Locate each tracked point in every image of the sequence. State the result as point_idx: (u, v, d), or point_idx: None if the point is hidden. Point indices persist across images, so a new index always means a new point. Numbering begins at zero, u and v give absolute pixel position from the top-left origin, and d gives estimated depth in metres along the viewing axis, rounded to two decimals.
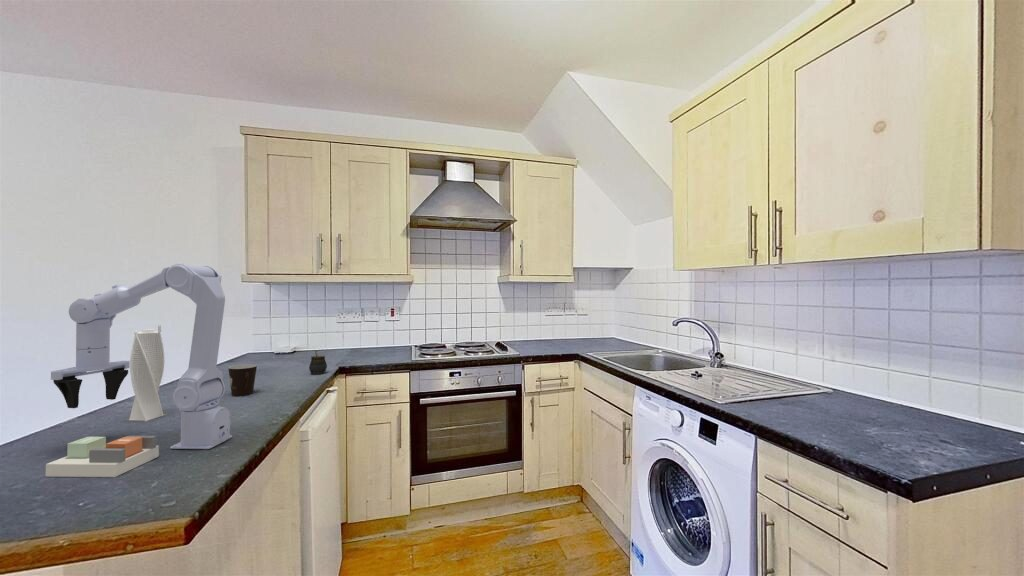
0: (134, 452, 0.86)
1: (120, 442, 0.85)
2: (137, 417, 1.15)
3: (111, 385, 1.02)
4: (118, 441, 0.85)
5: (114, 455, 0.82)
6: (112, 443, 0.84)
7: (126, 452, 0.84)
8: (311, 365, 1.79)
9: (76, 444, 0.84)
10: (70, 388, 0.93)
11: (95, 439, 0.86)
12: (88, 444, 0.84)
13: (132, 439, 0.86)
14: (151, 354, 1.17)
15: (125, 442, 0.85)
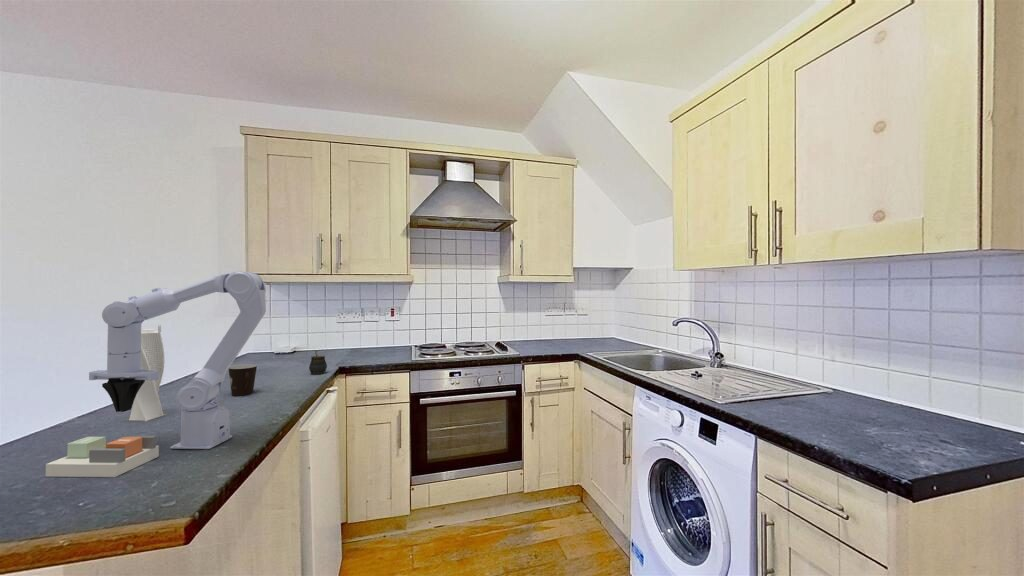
0: (134, 452, 0.86)
1: (120, 442, 0.85)
2: (137, 417, 1.15)
3: None
4: (118, 441, 0.85)
5: (114, 455, 0.82)
6: (112, 443, 0.84)
7: (126, 452, 0.84)
8: (311, 365, 1.79)
9: (76, 444, 0.84)
10: None
11: (95, 439, 0.86)
12: (88, 444, 0.84)
13: (132, 439, 0.86)
14: (151, 354, 1.17)
15: (125, 442, 0.85)
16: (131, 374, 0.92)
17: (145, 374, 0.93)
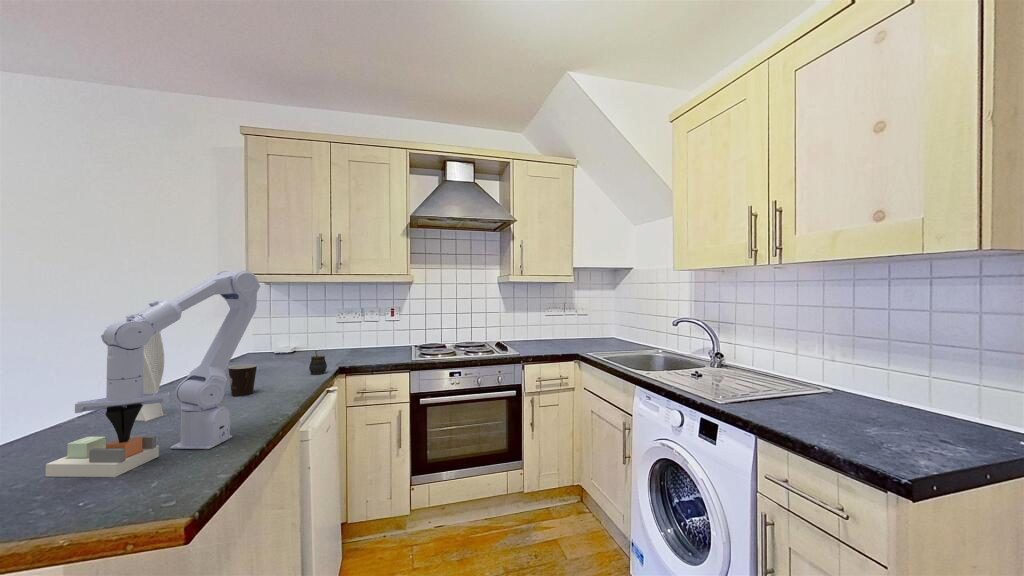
0: (134, 452, 0.86)
1: None
2: (137, 417, 1.15)
3: None
4: (118, 442, 0.85)
5: (114, 455, 0.82)
6: (112, 443, 0.84)
7: (126, 452, 0.84)
8: (311, 365, 1.79)
9: (76, 444, 0.84)
10: (110, 421, 0.83)
11: (95, 439, 0.86)
12: (88, 444, 0.84)
13: (132, 439, 0.86)
14: (151, 354, 1.17)
15: (125, 442, 0.85)
16: (145, 398, 0.86)
17: (161, 396, 0.88)
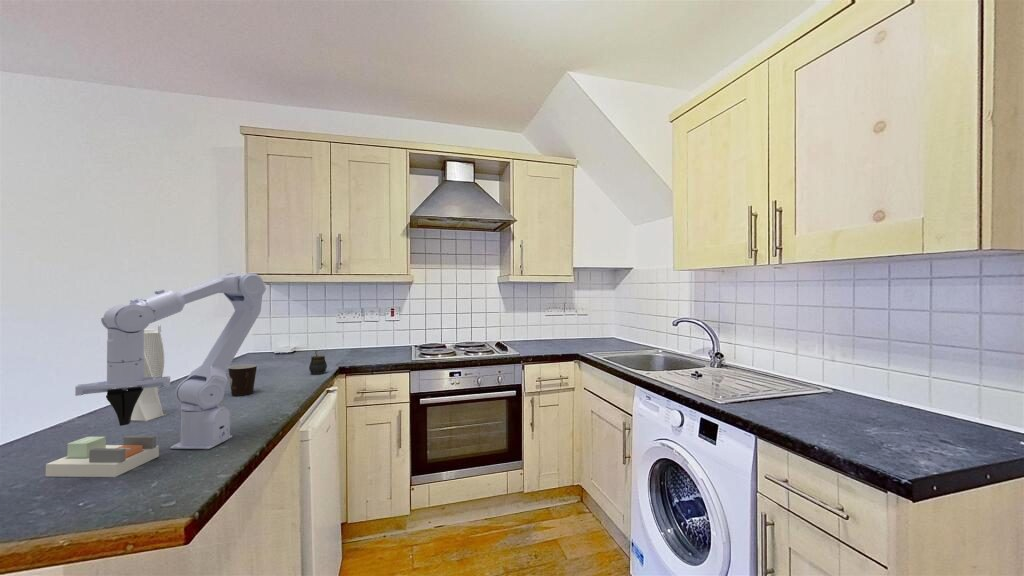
0: None
1: None
2: (137, 417, 1.15)
3: None
4: None
5: (114, 455, 0.82)
6: None
7: None
8: (311, 365, 1.79)
9: (76, 444, 0.84)
10: (111, 403, 0.83)
11: (95, 439, 0.86)
12: (88, 444, 0.84)
13: (132, 447, 0.86)
14: (151, 354, 1.17)
15: (125, 450, 0.85)
16: (146, 381, 0.86)
17: (161, 380, 0.89)
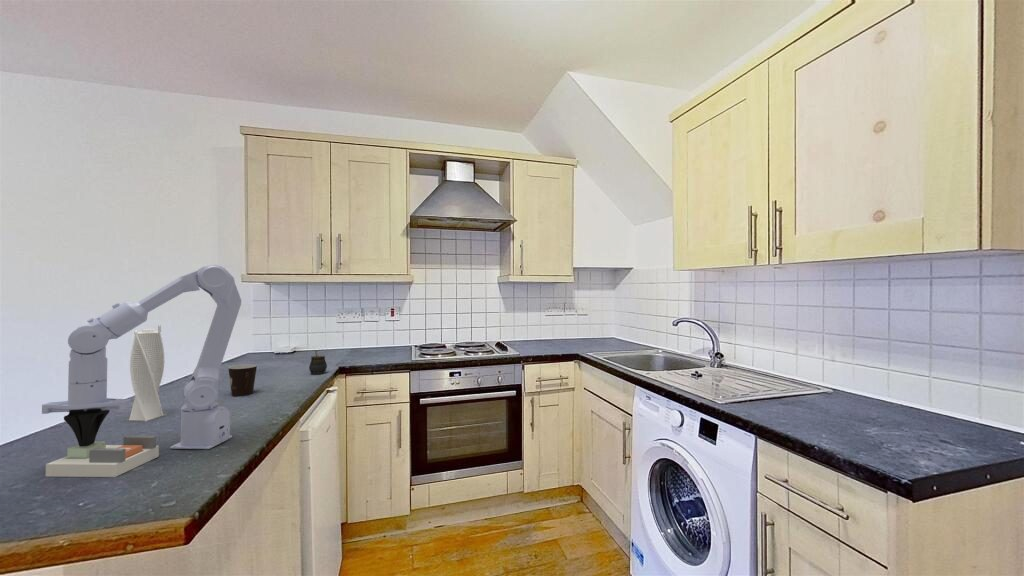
0: None
1: None
2: (137, 417, 1.15)
3: None
4: None
5: (114, 455, 0.82)
6: None
7: None
8: (311, 365, 1.79)
9: (76, 449, 0.84)
10: None
11: (95, 444, 0.86)
12: (88, 449, 0.84)
13: (132, 447, 0.86)
14: (151, 354, 1.17)
15: (125, 450, 0.85)
16: (100, 404, 0.85)
17: (117, 403, 0.86)
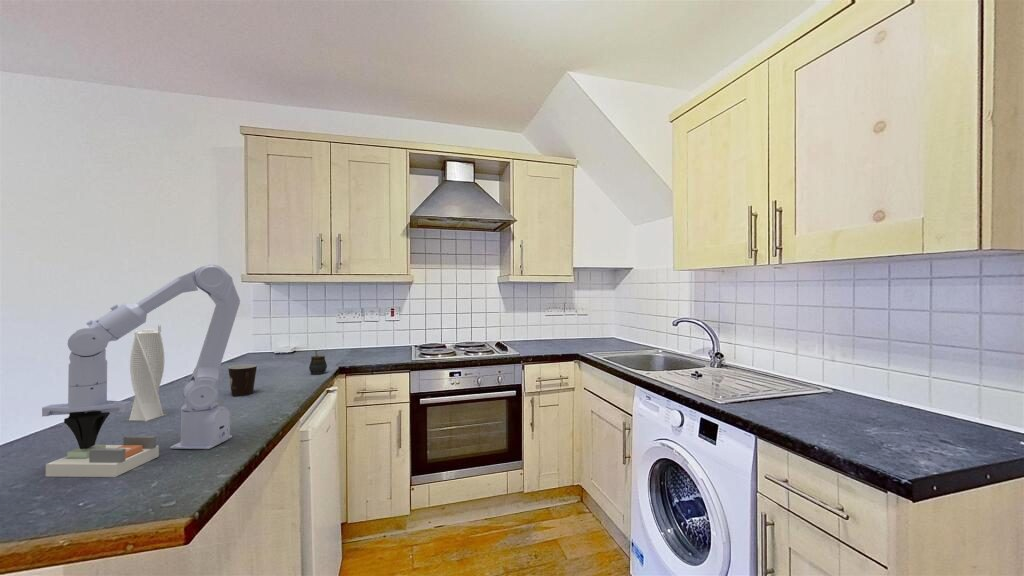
0: None
1: None
2: (137, 417, 1.15)
3: None
4: None
5: (114, 455, 0.82)
6: None
7: None
8: (311, 365, 1.79)
9: (76, 452, 0.84)
10: None
11: (95, 447, 0.86)
12: (88, 452, 0.84)
13: (132, 447, 0.86)
14: (152, 354, 1.17)
15: (125, 450, 0.85)
16: (100, 407, 0.85)
17: (117, 405, 0.86)
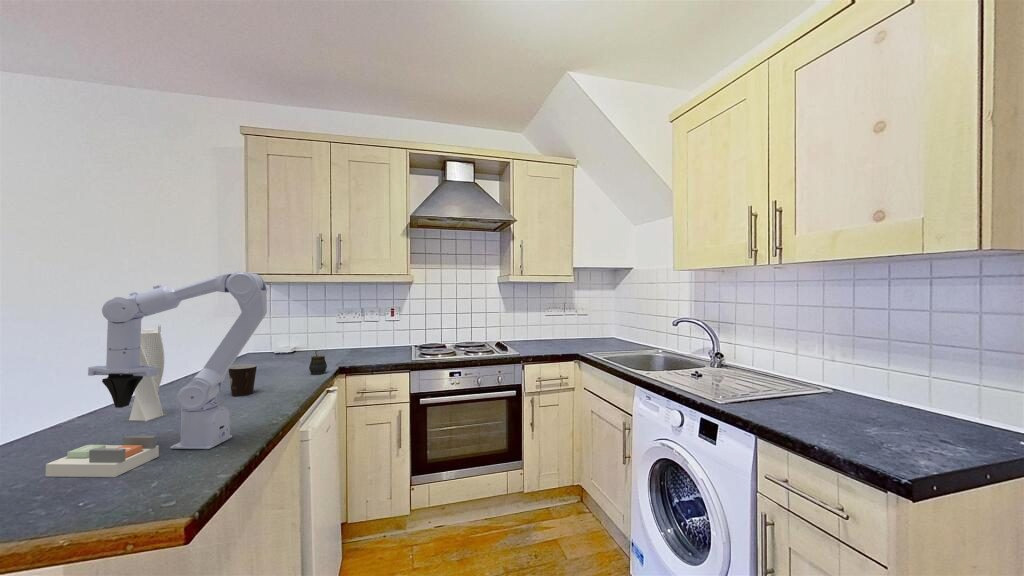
0: None
1: None
2: (137, 417, 1.15)
3: None
4: None
5: (114, 455, 0.82)
6: None
7: None
8: (311, 365, 1.79)
9: (76, 452, 0.84)
10: None
11: (95, 447, 0.86)
12: (88, 452, 0.84)
13: (132, 447, 0.86)
14: (151, 354, 1.17)
15: (125, 450, 0.85)
16: (130, 370, 0.92)
17: (144, 370, 0.93)
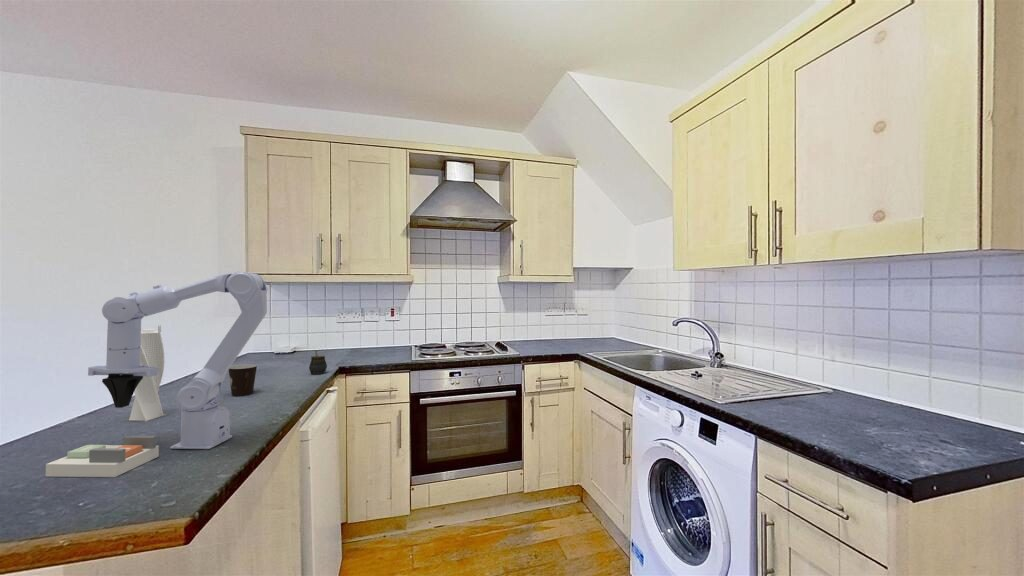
0: None
1: None
2: (137, 417, 1.15)
3: None
4: None
5: (114, 455, 0.82)
6: None
7: None
8: (311, 365, 1.79)
9: (76, 452, 0.84)
10: None
11: (95, 447, 0.86)
12: (88, 452, 0.84)
13: (132, 447, 0.86)
14: (151, 354, 1.17)
15: (125, 450, 0.85)
16: (130, 370, 0.92)
17: (144, 370, 0.93)
